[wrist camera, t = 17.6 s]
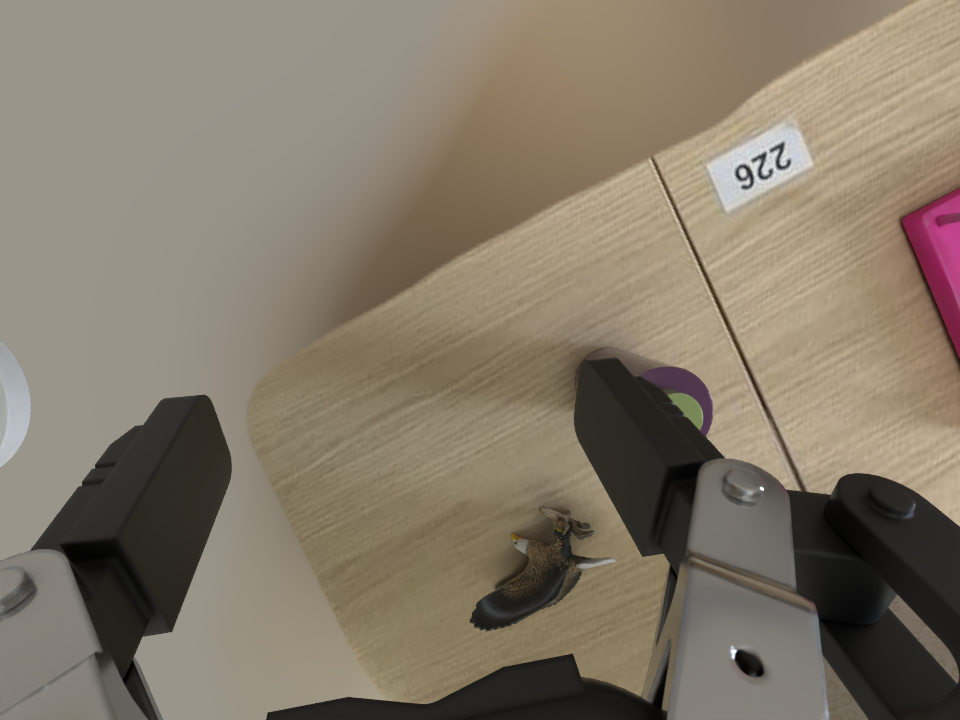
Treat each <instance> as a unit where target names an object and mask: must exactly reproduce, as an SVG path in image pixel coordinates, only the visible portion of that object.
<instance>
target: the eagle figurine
mask: <svg viewBox="0 0 960 720" xmlns="http://www.w3.org/2000/svg"><path fill="white" fill-rule="evenodd" d="M539 511H540V513H541V514H543V515H545V516H547V517H548V518H551V519H552V521H553V524H554V526H555V528H556V529H555V532H554V537H555V539H554V541H553V543H552V544H551V545H550V544H547V543H543V542H540V541H534V540H526V539H523V538H520V537H518V536H516V535H515V534H514V533H512V534H511V538H512V540H513V544H514V546H515V547H516V548H517V549H518V550H519V551H521V552H522V553H524V554H526V555H527V556H528V557H529V563H528V565H527V566H526V568H525V570H524V571H523V572H522V573H521V574H520V575H519V576H517V577H515V578H514V579H511V580H509V581H508V582H506V583H505V584H504V585H503V586H500V587H498V588H496V591H494V592H492V593H490V594H488V595H486V596H485V597H483V598H482V599H481V600H480V601H479V602H478V603H477V605H476V607H477V608H476V609H475V610H474V611H473V613H472V618H471V619H470V623H473V624H474V623H475V624H474V627H475V628H479V629H480V630H484V629H486V631H490V630H492V629H494V630H497V629H499V628H504V627H506V626H507V627H509V626H510V625H512V624H516V623H517V622H519V621H520V620H523V619H524V618H526V617H528V616H529V615H532V614H533V613H535V612H537V611H539V610H540V609H544V608H545V607H550V606H551V605H555V604H556V603H557V602H559V601H560V600H562V599H563V598H564V596H566V595H567V594H568V593H569V592H570V591H571V589H572V588H573V587H574V586H575V585H576V584H577V581H578V580H579V577H580V576H581V571H582V570H585V569H588V568H591V567H595V566H599V565H604V564H608V563H613V562H616V559H614V558H609V557H608V558H600V559H598V558H594V559H592V558H587V557H580V556H576V555H572V552H571V546H570V536H571V532H573V533H574V535H575V536H576V537H577V538H578V539H580V540H583V539H584V538H587V537H590V536H592V535H594V533H595V532H594V531H588V532H585V531H583V530H581V529H580V528H582V529H589V528H591V526H590V525H589V524H588V523H581V522H579V521H576V520H574V519H572V518H571V512H570V510H567V511H566V512H565V513H559V512H557V511H555V510H552V509H549V508H547V507H544V506H542V507H539Z"/></svg>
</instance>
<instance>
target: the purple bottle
mask: <svg viewBox="0 0 960 720" xmlns="http://www.w3.org/2000/svg"><path fill="white" fill-rule="evenodd" d="M612 357H616V358H618V359H619V360H620V361H621V362H622V363H623V364H624V365H625V366H626V368H627V369H628V370H629V371H630V372H631V373H632V375H633V376H634V377H636V376H641V377H643V378H645V379H646V380H648V381H650V382H652V383H653V384H655V385H657V386H659V387H660V388H661V389H662V390H663V391H664V392H665V393H666V394H667V395H668V396H669V398H670V399H671V400H672V401H673V404H674V405H677V406H678V407H679V408H680V410H681V411H682V412H683V413H684V416H685V417H688V418H689V419H690V420H691V421H692V423H693V424H694V425H695V426H696V427H697V428H698V429H699V430H700V431H701V432H702V433H703V435H704V436H706V435H707V433H708V431H709V429H710V426H711V423H712V419H713V404H712V399H711V396H710V393H709V391H708V389H707V387H706V386H705V384H704V383H703V382H702V381H701V380H700V379H699V378H698V377H697V376H696V375H694V374H693V373H691V372H689V371H687V370H685V369H682V368H679V367H676V366H672V365H669V364H666V363H663V362H660V361H656V360H653V359H650V358H647V357H644V356H640V355H637V354H634V353H631V352H627V351H624V350H621V349H618V348H602V349H599V350H596V351H594V352H592V353H591V354H589V355H588V356H587V357H586V358H585V359H584V360H591V359H601V358H612ZM584 360H583V361H584ZM583 361H582V362H583ZM582 362H581V364H582ZM581 364H580V365H579V367H578V370H577V373H576V377H575V387H576V391H577V387H578V379H579V371H580V366H581Z"/></svg>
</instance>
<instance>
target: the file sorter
mask: <svg viewBox="0 0 960 720" xmlns="http://www.w3.org/2000/svg"><path fill="white" fill-rule="evenodd" d="M903 226H904V228H905V230H906V232H907V234H908V237H909V239H910V241H911V243H912V246H913V248H914V251H915V253H916V255H917V258H918V260H919V262H920V265H921V267H922V270H923V272H924V274H925V277H926V279H927V282H928V284H929V286H930V289H931V291H932V293H933V296H934V298H935V300H936V303H937V305H938V308H939V310H940V312H941V315H942V317H943V320H944V322H945V324H946V327H947V329H948V332H949V334H950V337H951V339H952V341H953V344H954V346H955V349H956V351H957V353H958V356H959V358H960V188H958V189H956V190H955V191H953V192H951V193H949V194H947V195H945V196H943V197H941V198H939V199H938V200H936V201H934V202H932V203H930V204H928V205H926V206H924V207H922V208H920V209H918V210H916V211H914V212H913V213H911V214H909V215H907V216H905V217H904V219H903Z"/></svg>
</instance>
